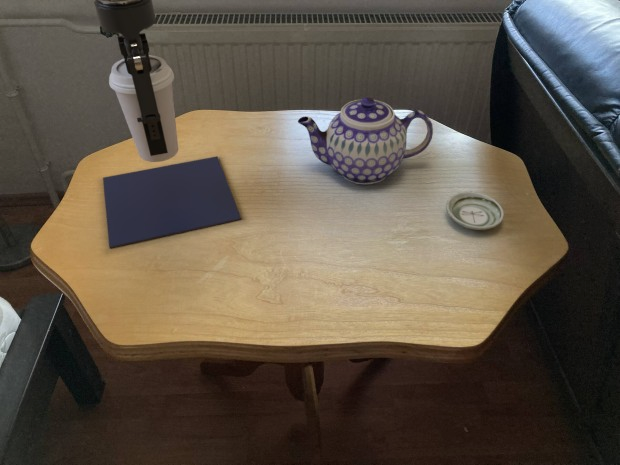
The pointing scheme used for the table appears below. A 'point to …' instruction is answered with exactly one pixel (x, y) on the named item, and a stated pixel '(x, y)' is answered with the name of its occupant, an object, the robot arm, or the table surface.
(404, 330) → the table surface
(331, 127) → the teapot
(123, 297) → the table surface
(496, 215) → the saucer
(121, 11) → the robot arm
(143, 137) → the coffee cup
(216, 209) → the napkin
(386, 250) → the table surface
